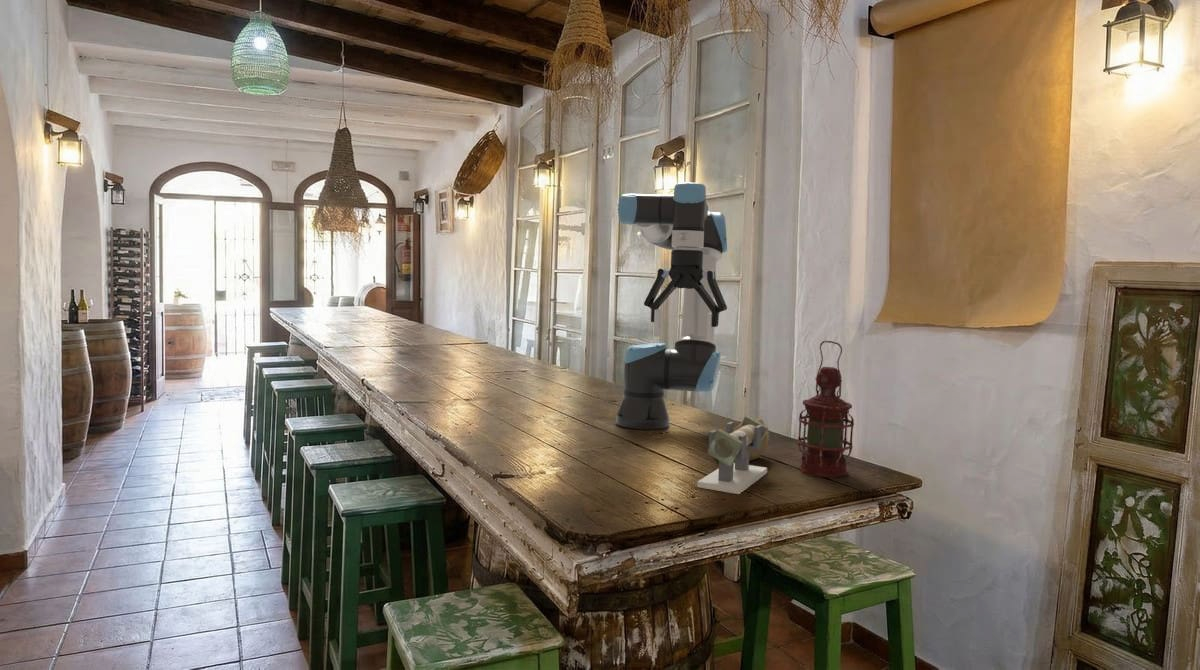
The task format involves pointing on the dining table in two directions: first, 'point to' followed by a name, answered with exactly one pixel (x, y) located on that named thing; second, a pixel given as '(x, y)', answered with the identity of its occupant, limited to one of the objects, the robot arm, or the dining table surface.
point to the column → (734, 440)
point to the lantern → (826, 426)
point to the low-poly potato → (756, 453)
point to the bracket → (735, 466)
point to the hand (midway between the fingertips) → (683, 338)
